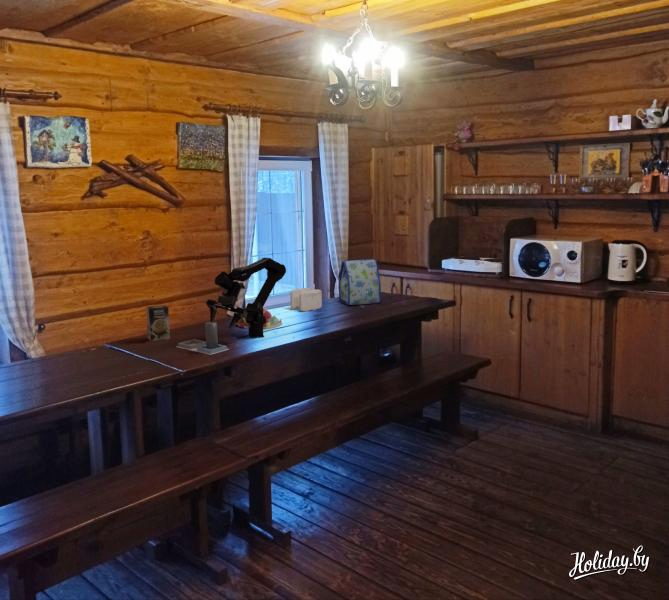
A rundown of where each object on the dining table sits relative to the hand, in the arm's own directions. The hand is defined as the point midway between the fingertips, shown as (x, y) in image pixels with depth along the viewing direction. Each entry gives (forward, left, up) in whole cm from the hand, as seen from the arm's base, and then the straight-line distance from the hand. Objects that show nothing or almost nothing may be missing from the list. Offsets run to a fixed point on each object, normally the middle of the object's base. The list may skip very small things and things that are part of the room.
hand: (220, 325), depth 304 cm
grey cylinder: (+4, +11, -8) cm, 14 cm away
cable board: (+8, +6, -9) cm, 14 cm away
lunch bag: (-87, -82, -9) cm, 120 cm away
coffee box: (+27, -18, -9) cm, 34 cm away
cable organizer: (-53, -71, -9) cm, 89 cm away
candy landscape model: (-22, -41, -10) cm, 47 cm away
